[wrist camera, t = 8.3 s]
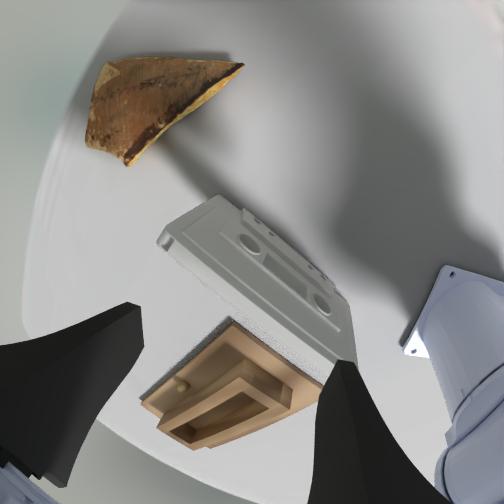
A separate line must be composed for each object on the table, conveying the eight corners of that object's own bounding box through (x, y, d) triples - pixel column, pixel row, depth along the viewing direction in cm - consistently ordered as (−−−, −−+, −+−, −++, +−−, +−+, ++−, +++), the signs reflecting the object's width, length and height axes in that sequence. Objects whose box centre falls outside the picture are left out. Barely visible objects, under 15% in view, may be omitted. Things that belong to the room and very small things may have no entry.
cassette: (207, 208, 19) (147, 249, 12) (223, 186, 18) (166, 217, 11) (336, 315, 20) (340, 395, 13) (355, 300, 19) (368, 378, 12)
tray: (329, 389, 23) (328, 415, 20) (211, 445, 31) (204, 462, 28) (234, 320, 22) (223, 344, 19) (142, 401, 30) (131, 417, 27)
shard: (251, 69, 14) (243, 61, 13) (222, 185, 17) (212, 190, 16) (114, 62, 16) (98, 58, 14) (96, 156, 19) (81, 159, 17)
